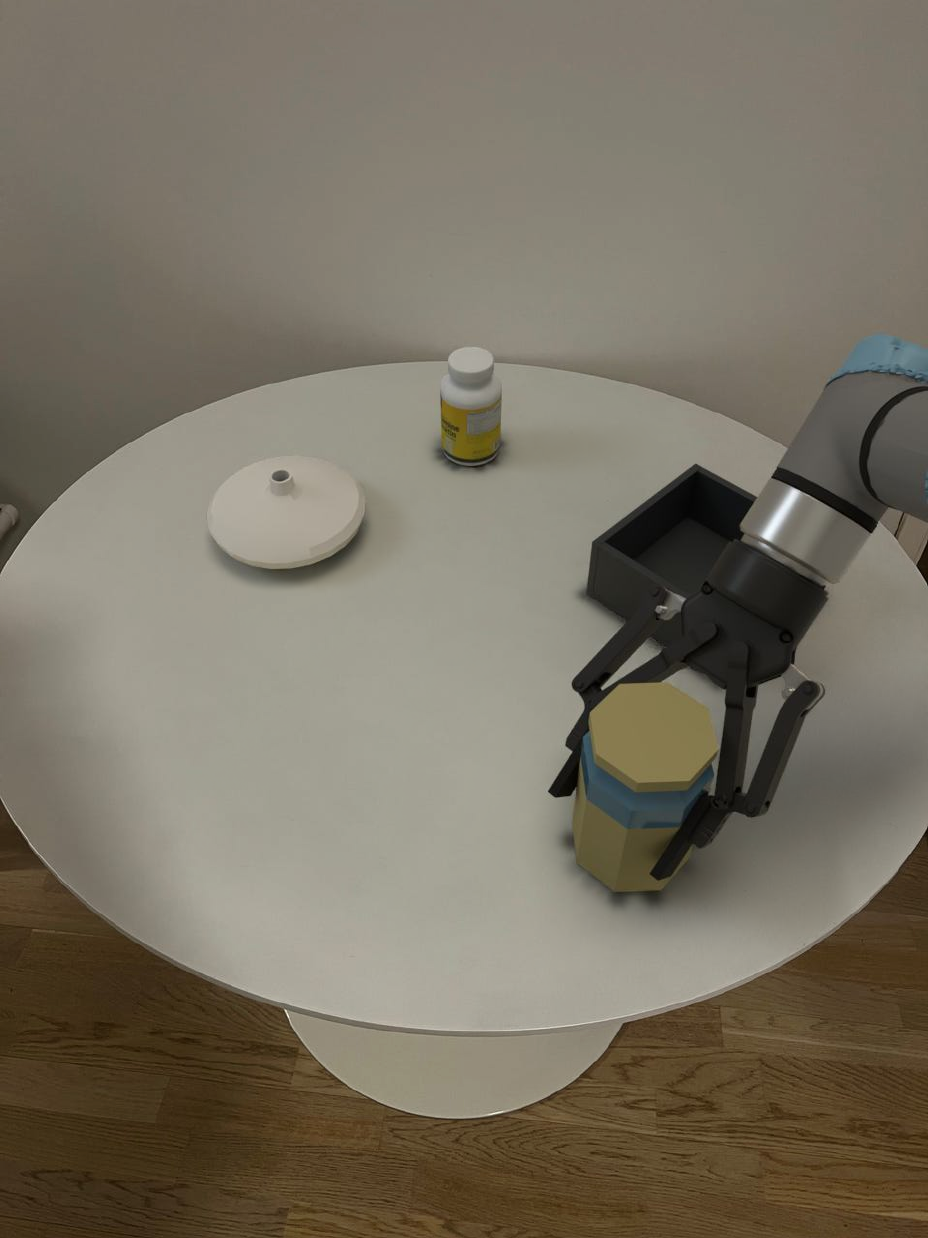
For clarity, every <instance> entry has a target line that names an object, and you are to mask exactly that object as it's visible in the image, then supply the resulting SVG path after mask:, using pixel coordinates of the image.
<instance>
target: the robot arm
mask: <svg viewBox="0 0 928 1238" xmlns="http://www.w3.org/2000/svg"><path fill="white" fill-rule="evenodd" d="M756 497H757V499H756V500H755V502H754V504H753V505H752V507H751V508H750V510H749V511H748V513H747V514H746V516H745V518H744V519H743V521H742V522H741V524H740V525H739V526H740V531H742V532H743V533H745V534H744V536H743V537H742V539H741V542H740V541H738V540H737V539H734V541H733V542H731V541H729V543H728V545H727V546H726V548H725V549H724V551H723V552H722V554H721V556H720V557H719V559H718V560H717V562H716V563H715V565H714V567H713V568H712V570H711V571H710V573H709V575H708V576H707V578H706V579H705V581H704V583H703V585H702V587H701V588H700V589H699V590H698V591H697V592H696V593H694V594H693V595H691V596H689V597H688V598H685V597H683V596H680V595H678V594H676V593H674V592H673V591H672V590H671V589H670V588H667V587H665V586H662V585H660V584H656V583H654V584H651V585H650V586H649V587H648V588H647V590H646V593H645V595H644V597H643V599H642V602H641V604H640V606H639V608H638V610H637V611H636V612H635V614H634V615H633V616H632V617H631V618H630V619H629V620H628V621H627V620H626V622H625V623H624V624H623V625H622V626H621V628H620V629H618V630H617V632H615V634H613V636H612V637H611V638H610V639H609V640H608V641H607V642H606V643H605V644H604V645H603V647H602V648H600V650H599V651H598V652H597V653H596V654H595V655H594V656H593V657H592V658H591V659H590V660H589V661H588V663H586V665H584V666H583V668H582V669H581V670H580V671H579V672H578V674H576V675H575V677H574V678H573V679H572V681H571V688H572V690H573V691H574V692H576V693H577V694H578V695H579V697H580V698H581V700H582V701H583V706H584V708H583V711H582V712H581V714H580V716H579V718H578V719H577V720H576V722H575V724H574V726H573V727H572V729H571V731H570V732H569V734H568V735H567V737H566V738H565V743H564V747H566V748H567V749H568V750H570V751H571V753H570V755H569V756H568V758H567V760H566V761H565V762H564V765H563V766H562V767H561V769H560V771H559V772H558V774H557V776H556V777H555V779H554V780H553V782H552V784H551V785H550V787H549V788H548V790H547V793H548V794H550V795H551V796H552V797H553V798H555V799H558V798H565V797H566V798H567V797H571V796H572V795H573V793H574V792H575V791H576V787H577V779H578V771H579V764H580V756H581V748H582V741H583V737H584V736H585V735H586V734H587V733H588V732H589V731H590V729H589V715H590V712H591V711H592V710H593V709H594V708H595V707H596V706H597V705H598V704H599V703H600V702H601V701H602V700H603V699H605V698H606V697H607V696H608V695H609V694H610V693H611V692H612V691H613V690H614V689H615V688H616V687H617V686H618V685H619V684H632V683H660V682H664V681H665V680H666V679H668V678H669V677H671V676H673V675H674V674H676V673H678V672H680V671H681V670H685V669H686V668H687V669H688V667H689V668H691V669H692V670H694V671H696V672H699V673H702V674H705V675H707V677H708V678H709V679H710V680H711V681H712V683H713V684H715V685H716V686H717V687H719V688H720V689H722V690H725V695H724V705H725V710H724V711H725V712H724V719H723V727H722V732H721V733H722V734H721V742H720V749H719V755H718V756H719V757H718V765H717V772H716V779H715V786H714V794H709V795H707V796H701V797H700V798H699V799H698V801H697V802H696V804H695V805H694V807H693V808H692V810H691V812H690V813H689V815H688V816H687V818H686V819H685V821H684V822H683V824H682V825H681V827H680V829H679V830H678V831H677V833H676V834H675V836H674V837H673V839H672V840H671V842H670V843H669V845H668V846H667V848H666V849H665V851H664V852H663V854H662V855H661V857H660V858H659V860H658V861H657V863H656V864H655V866H654V867H653V869H652V870H651V872H650V875H651V876H652V877H654V878H655V879H656V880H657V881H659V880H662V879H665V878H668V877H671V876H672V874H673V873H674V871H675V870H676V868H677V867H678V865H679V864H680V862H681V861H682V859H683V858H684V856H685V855H686V853H687V852H688V850H689V849H690V847H691V846H692V844H693V846H694V847H696V848H697V849H698V850H700V849H701V850H702V849H704V848H706V847H708V846H710V845H711V844H713V842H714V841H715V839H716V838H717V837H718V835H719V834H720V831H722V829H723V828H724V826H725V824H726V823H727V821H728V820H729V819H730V817H731V816H732V814H734V813H737V814H740V815H744V816H745V817H747V818H750V819H752V818H758V817H761V816H764V815H766V814H768V812H769V810H770V808H771V806H772V803H773V800H774V798H775V795H776V793H777V791H778V787H779V785H780V782H781V781H782V779H783V778H782V777H783V775H784V772H785V770H786V768H787V765H788V762H789V760H790V758H791V755H792V752H793V750H794V747H795V745H796V743H797V740H798V737H799V735H800V733H801V730H802V727H803V725H804V722H805V720H806V718H807V716H808V715H809V713H810V712H811V711H812V710H813V709H814V708H815V707H816V706H817V704H818V703H819V702H821V700H822V699H823V698H824V697H825V696H826V695H825V694H826V687H825V686H824V684H823V683H821V682H819V681H815V680H812V678H811V677H809V676H808V675H807V674H806V673H804V672H803V671H802V670H801V669H800V668H799V667H798V666H796V665H795V661H796V652H797V648H798V647H799V645H800V643H801V642H802V640H803V639H804V637H805V636H806V634H807V632H808V631H809V629H810V628H811V626H812V625H813V624H814V622H815V620H816V619H817V617H818V616H819V614H820V613H821V612H822V610H823V608H824V607H825V605H826V604H827V602H828V601H829V597H828V595H829V592H828V591H827V590H825V589H826V587H827V585H828V583H830V584H832V585H836V584H839V583H840V582H841V581H842V579H843V578H844V577H845V575H846V573H847V572H848V571H849V569H850V568H851V566H852V564H853V563H854V561H855V560H856V559H857V557H858V555H859V553H861V551H862V549H863V548H864V546H865V545H866V543H867V541H868V540H869V539H870V537H871V534H873V533H874V532H875V530H876V528H877V527H878V525H879V521H880V520H881V519H882V517H883V516H884V514H885V513H886V512H887V511H888V510H889V509H893V510H896V511H900V512H902V513H904V514H907V515H909V516H911V517H913V518H916V519H918V520H920V521H922V522H924V523H927V524H928V349H927V348H926V347H924V346H921V345H919V344H917V343H914V342H908V341H905V340H903V339H901V338H900V337H897V336H895V335H891V334H883V333H879V334H878V333H877V334H870V335H868V336H866V337H864V338H862V339H861V340H859V341H858V342H857V343H856V344H855V345H854V347H853V348H852V350H851V351H850V353H849V354H848V356H847V357H846V359H845V360H844V361H843V363H842V365H841V366H840V367H839V369H838V370H837V371H836V372H835V374H834V375H832V376H831V377H830V378H829V380H828V381H826V382H825V384H824V387H823V391H822V392H821V394H820V396H819V397H818V398H817V400H816V402H815V404H814V405H813V407H812V408H811V410H810V412H809V413H808V414H807V417H806V418H805V420H804V422H803V423H802V425H801V426H800V427H799V430H798V431H797V433H796V435H795V436H794V438H793V440H792V441H791V443H790V444H789V446H788V448H787V450H786V451H785V453H784V454H783V455H782V457H781V459H780V461H779V463H778V464H777V466H776V469H775V470H774V471H773V473H772V475H771V476H770V478H769V479H768V480H767V481H766V483H765V485H764V486H763V488H762V489H761V490H760V493H759V494H758V496H756ZM677 612H681V630H682V638H680V639H678V640H677V641H675V642H674V643H672V644H671V645H669V646H668V647H666V646H665V648H663V649H662V650H661V651H660V653H658V654H656V655H655V656H653V657H652V658H650V659H649V660H648V661H646V662H644V663H643V664H641V665H640V666H638V667H636V668H635V669H633V670H631V671H630V672H629V673H626V674H625V675H624V676H622V677H621V678H619V679H618V680H616V681H614V682H613V683H611V684H610V685H608V686H607V687H605V688H603V689H602V687H603V686H605V684H606V683H608V681H609V680H610V679H611V678H612V677H613V676H614V675H615V673H617V672H618V671H619V670H620V669H621V667H622V666H623V665H625V663H626V662H627V661H628V660H629V659H630V658H631V657H632V656H633V655H634V654H635V653H636V652H637V651H638V650H639V648H641V646H642V645H644V643H645V642H646V641H647V640H648V639H649V638H650V637H651V635H652V634H653V633H654V631H655V630H656V629H657V628H658V627H659V626H660V624H661V623H662V621H663V620H669V619H671V618H672V617H673V616H674V615H675V614H676V613H677ZM781 677H782V678H783V680H784V685H783V687H782V690H781V697H782V699H783V700H784V702H783V704H782V706H781V707H780V709H779V711H778V713H777V716H776V718H775V721H774V722H773V725H772V727H771V731H770V733H769V736H768V738H767V741H766V744H765V746H764V748H763V751H762V754H761V756H760V759H759V761H758V764H757V767H756V769H755V772H754V774H753V776H752V779H751V782H750V784H749V786H748V789H747V791H746V793H744V792H743V791H744V782H745V776H746V770H747V769H746V768H747V760H748V753H749V745H750V739H751V738H750V737H751V730H752V722H753V715H754V710H755V708H756V705H757V698H758V691H759V686H760V685H762V684H765V683H768V682H770V681H773V680H776V679H778V678H781ZM693 846H692V847H693Z"/></svg>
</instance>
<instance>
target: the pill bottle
mask: <svg viewBox="0 0 928 1238" xmlns="http://www.w3.org/2000/svg"><path fill="white" fill-rule="evenodd" d="M494 370H495V359H494V356H493V354H492V353H491V352H490V351H488V350H487V349H485V348H481V347H477V346H465V347H460V348H458V349H455V350H453V351H452V352H451V353H450V354H449V356H448V358H447V371H448V373H446V375H445V376H444V377H443V378H442V380H441V382H440V385H439V386H440V388H439V402H440V433H441V434H440V435H441V436H440V438H441V439H440V440H441V450H442V452H443V454H444V455H445V456H446V458H447V459H449V461H452V462H453V463H455V464H457V465H460V466H467V467H473V466H480V465H481V466H482V465H484V464H487V463H488V462H491V461H492V460H493V459H495V457H496V456H497V455H498V454H499V451H500V448H501V433H502V432H501V431H502V430H501V429H502V428H501V426H502V401H503V400H502V399H503V397H502V396H503V387H502V383H501V380H500V378H499V377H498V375H497V374H496V373H495V371H494Z"/></svg>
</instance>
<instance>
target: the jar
mask: <svg viewBox="0 0 928 1238" xmlns="http://www.w3.org/2000/svg"><path fill="white" fill-rule="evenodd" d="M713 724H714V723H713V721H712V717H711V713H710V709H709V707H708V706H706V705H704V704H703V703H701V702H699V701H698V700H697V699H695V698H693V697H691V696H690V695H689V694H688V693H685V692H684V691H683V690H680V689H679V688H678V687H676V686H674V685H673V684H671V683H670V682H668V681H662V682H660V683H632V684H619V685H618V686H617V687H616V688H615V689H614V690H613V691H612V692H611V693H610V694H609V695H608V696H607V697H606V698H605V699H603V700H602V701H601V702H600V703H599V704H598V705H597V706H596V707H595V708H594V709H593V710H592V711H591V712H590V715H589V729H590V731H589V732H588V733H587V734H586V735H585V736H584V737H583V741H582V748H581V756H580V764H579V771H578V779H577V787H576V789H575V795H574V802H573V811H572V818H571V826H572V827H571V828H572V833H573V834H572V835H573V842H574V850H575V857H576V858H575V859H576V863H577V864H578V865H579V866H581V867H582V868H583V869H584V870H586V871H587V872H588V873H589V874H591V875H592V876H593V877H594V878H596V879H597V880H599V881H600V882H601V883H602V884H603V885H604V886H606V887H608V888H609V890H611V891H613V892H614V893H617V892H619V893H621V892H641V891H642V892H643V891H644V892H645V891H662V890H663V889H664V888H665V887H666V885H667V884H668V883H670V881H671V880H672V879H673V878H674V876H675V875H676V874H677V873H678V871H680V869H681V868H682V867H683V866H684V865H685V864H686V862H687V861H688V859H689V858H690V856H691V853H692V849H693V846H694V845H693V844H692V846H691V847H690V849H689V850H688V852H687V853H686V855H685V856H684V858H683V859H682V861H681V862H680V864H679V865H678V867H677V868H676V870H675V871H674V873H673V874H672V876H671V877H668V878H665V879H662V880H659V881H657V880H656V879H655V878H654V877H652V876H651V875H650V872H651V870H652V869H653V867H654V866H655V864H656V863H657V861H658V860H659V858H660V857H661V855H662V854H663V852H664V851H665V849H666V848H667V846H668V845H669V843H670V842H671V840H672V839H673V837H674V836H675V834H676V833H677V831H678V830H679V829H680V827H681V825H682V824H683V822H684V821H685V819H686V818H687V816H688V815H689V813H690V812H691V810H692V808H693V807H694V805H695V804H696V802H697V801H698V799H699V798H700V797H701V796H707V795H710V791H711V788H712V785H713V782H714V778H715V771H714V767H713V762H714V761H715V760H716V759H717V755H718V754H719V753H718V752H719V750H720V749H719V744H718V741H717V737H716V732H715V729H714V725H713Z"/></svg>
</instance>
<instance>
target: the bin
mask: <svg viewBox="0 0 928 1238" xmlns="http://www.w3.org/2000/svg"><path fill="white" fill-rule="evenodd" d="M757 497H758V496H757V495H755V494H753V493H751V492H749V491H747V490H745V489H743V488H742V487H740V486H738V485H736V484H735V483H732V482H731V481H729V480H727V479H726V478H723V477H722V476H720V475H718V474H716V473H714V472H712V471H711V470H709V469H707V468H705V467H703V466H701V465H700V464H698V463H694V464H693V465H691V466H690V467H689V468H688V469H686V470H684V471H683V472H682V473H681V474H680V475H678V476H677V477H676V478H674V479H673V480H671V481H670V482H669V483H667V484H666V485H665V486H663V487H662V488H661V489H660V490H658V491H657V492H655V493H654V494H653V495H652V496H650V497H649V498H648V499H646V500H645V501H644V502H642V503H641V504H639V506H637V507H636V508H635V509H634V510H632V511H631V512H629V513H628V514H627V515H625V516H624V517H623V518H622V519H620V520H618V521H617V522H616V523H615V524H614V525H612V526H611V527H609V528H608V529H607V530H606V531H604V532H603V533H602V534H600V535H599V536H598V537H596V538H595V539H594V540H592V541H591V549H590V558H589V564H588V565H589V566H588V575H587V582H586V592H585V594H586V595H588V596H589V597H591V598H592V599H594V600H595V601H597V602H598V603H600V604H601V605H603V606H604V607H606V608H607V609H609V610H610V611H612V612H613V613H615V614H617V615H618V616H619V617H621V618H623V620H625V621H626V622H627V621H628V620H629V619H630V618H631V617H632V616H633V615H634V614H635V612H636V611H637V610H638V608H639V606H640V604H641V602H642V599H643V597H644V595H645V593H646V590H647V588H648V587H649V586H650V585H651V584H654V583H656V584H660V585H662V586H665V587H667V588H670V589H671V590H672V591H673V592H674V593H676V594H678V595H680V596H683V597H685V598H688V597H689V596H691V595H693V594H694V593H696V592H697V591H698V590H699V589H700V588H701V587H702V585H703V583H704V581H705V579H706V578H707V576H708V575H709V573H710V571H711V570H712V568H713V567H714V565H715V563H716V562H717V560H718V559H719V557H720V556H721V554H722V552H723V551H724V549H725V548H726V546H727V545H728V543H729V541H731V542H733V541H734V539H737V540H738V541H740V542H741V539H742V537H743V536H744V534H745V533H743V532H742V531H740V526H739V525H740V524H741V522H742V521H743V519H744V518H745V516H746V514H747V513H748V511H749V510H750V508H751V507H752V505H753V504H754V502H755V500H756V499H757ZM650 637H651V638H652V639H654V640H655V641H657V642H659V643H660V644H661V645H663V646H665V648H666V647H668V646H669V645H671V644H672V643H674V642H675V641H677V640H678V639H680V638H682V630H681V612H677V613H676V614H675V615H674V616H673V617H672V618H671V619H669V620H663V621H662V623H661V624H660V626H659V627H658V628H657V629H656V630H655V631H654V633H653V634H652V635H651V636H650Z"/></svg>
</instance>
